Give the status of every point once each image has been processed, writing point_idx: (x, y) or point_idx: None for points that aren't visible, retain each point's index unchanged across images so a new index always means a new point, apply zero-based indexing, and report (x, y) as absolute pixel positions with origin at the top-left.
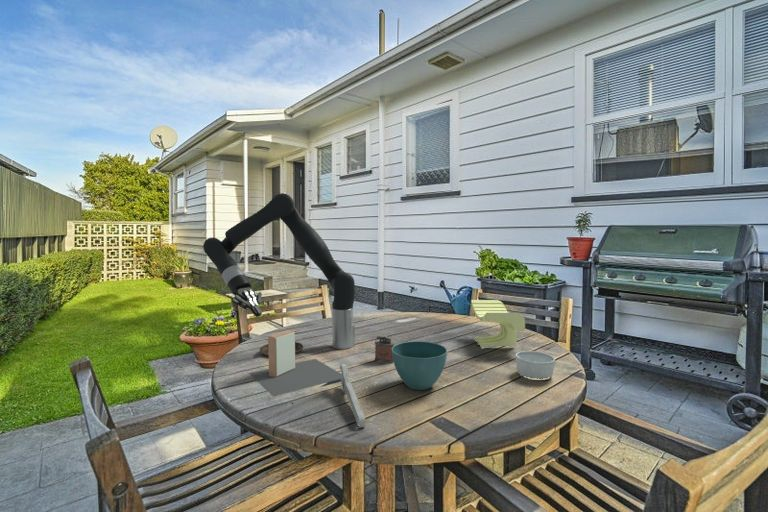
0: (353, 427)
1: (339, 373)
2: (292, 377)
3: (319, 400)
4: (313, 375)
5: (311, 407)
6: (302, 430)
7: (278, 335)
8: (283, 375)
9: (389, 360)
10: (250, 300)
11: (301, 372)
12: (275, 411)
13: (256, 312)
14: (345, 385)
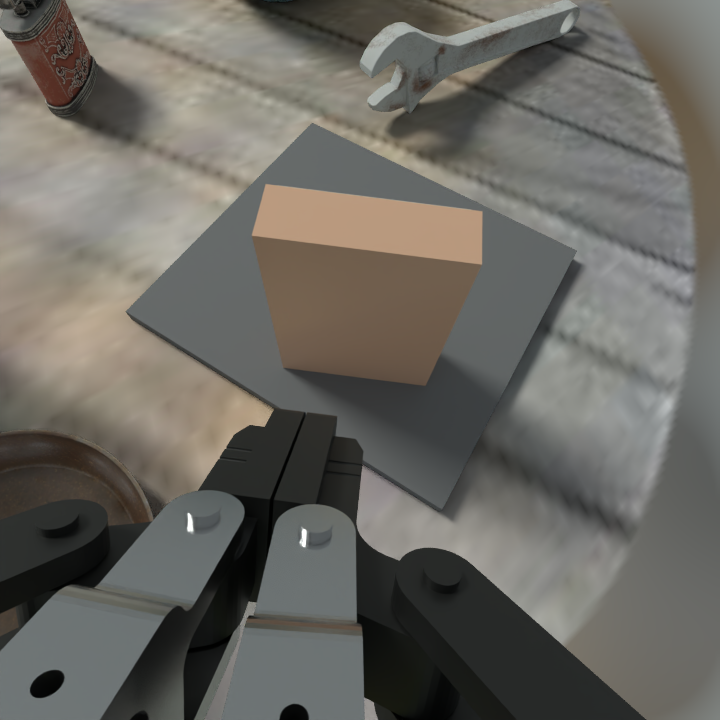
0: (573, 39)
1: (286, 153)
2: None
3: (496, 143)
4: None
5: (547, 143)
6: (655, 113)
7: (431, 213)
8: None
9: (90, 59)
10: (314, 624)
11: None
12: (627, 211)
13: (348, 448)
14: (442, 64)
